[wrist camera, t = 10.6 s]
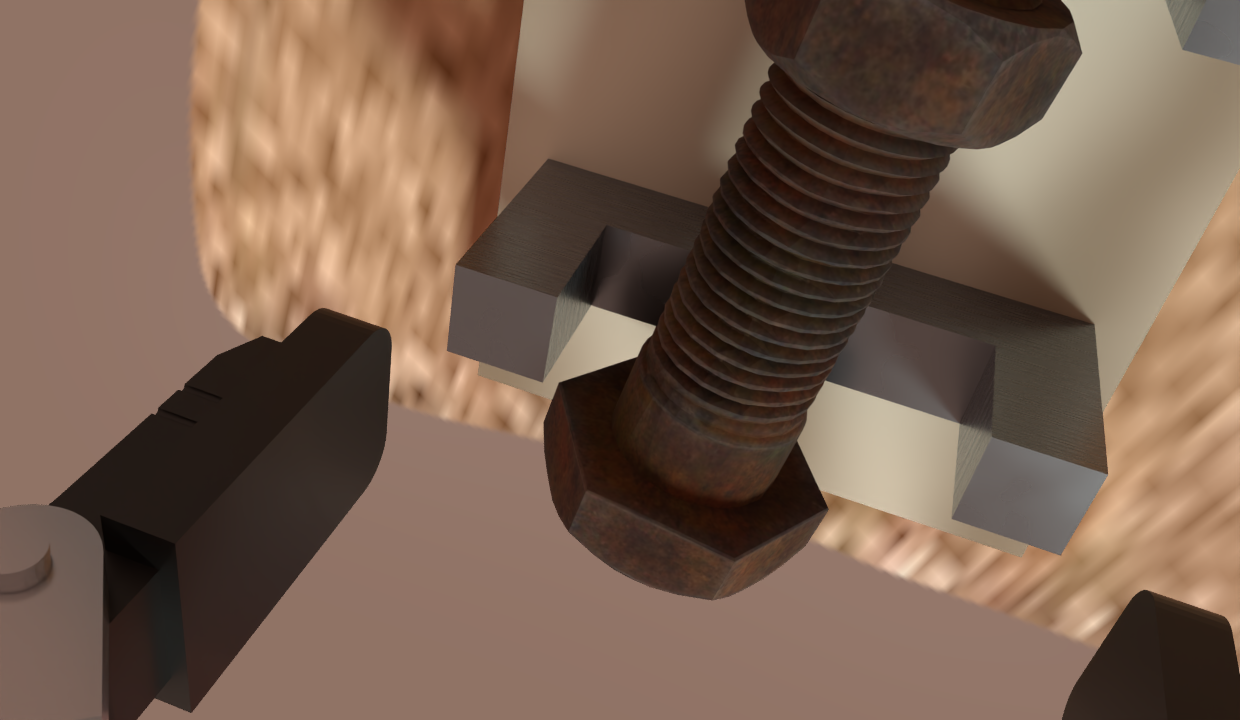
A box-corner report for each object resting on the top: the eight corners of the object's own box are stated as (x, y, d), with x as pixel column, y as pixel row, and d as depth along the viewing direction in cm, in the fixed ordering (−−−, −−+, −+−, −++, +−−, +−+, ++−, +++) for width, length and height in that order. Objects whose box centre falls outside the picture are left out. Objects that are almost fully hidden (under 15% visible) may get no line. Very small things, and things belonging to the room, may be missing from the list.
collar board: (1557, -469, 16) (1600, -475, 15) (1021, 516, 28) (1021, 557, 27) (634, -650, 18) (606, -668, 17) (499, 344, 30) (477, 375, 29)
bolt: (1107, -300, 17) (736, 412, 26) (824, -419, 15) (527, 389, 24) (1372, -187, 13) (822, 618, 22) (1024, -335, 11) (575, 610, 20)
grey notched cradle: (1336, -137, 18) (1424, -63, 14) (1055, 399, 24) (1060, 555, 20) (618, -310, 19) (511, -288, 15) (536, 236, 26) (446, 350, 22)
